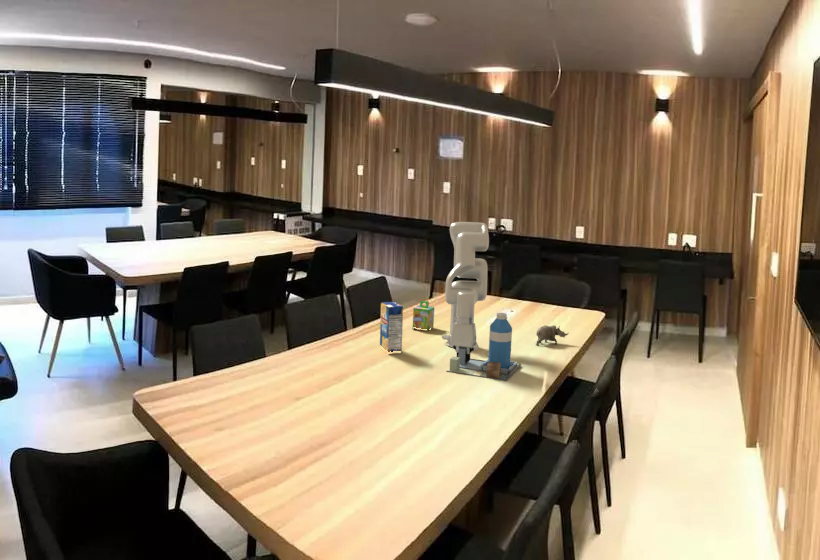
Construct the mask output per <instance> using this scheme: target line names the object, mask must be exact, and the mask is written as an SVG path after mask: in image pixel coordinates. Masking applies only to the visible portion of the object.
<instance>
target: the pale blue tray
mask: <svg viewBox="0 0 820 560" xmlns="http://www.w3.org/2000/svg"><path fill="white" fill-rule="evenodd" d="M466 354H467V347H460V348H459V351H458V357H460V367H464V368H470V369H477V370H484V371H487V364H488V358H487V359H486V360H484V361H485V362H483V361H476V360H470V361H469V362H468V363H466V362H465V360H466ZM517 365H518V362H517V361H512V360H510V368H509V369H504V368H500V373H503V374H509V373H510V372H511V371H512V370H513V369H514V368H515V367H516V366H517Z"/></svg>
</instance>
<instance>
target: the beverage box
mask: <svg viewBox="0 0 820 560" xmlns="http://www.w3.org/2000/svg"><path fill="white" fill-rule="evenodd" d="M403 313H404V306H403V305H401V304H399V303H398V302H397V301H383V302H380V324H379V325H380V328H379V330H380V331H379V334H380V335H379V337H380V338H379V346H380V345H381V346H382V347H383V348H384V349H385V350H387V351H388V352H390V351H391V352H393V351H402V350H403V315H404V314H403ZM402 352H403V351H402Z"/></svg>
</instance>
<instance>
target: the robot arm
mask: <svg viewBox="0 0 820 560" xmlns="http://www.w3.org/2000/svg"><path fill="white" fill-rule="evenodd" d="M488 228H489V227H488V225H487V223H484V222H480V221H479V222H476V221H475V222H474V221H455V222H452V223H451V224H450V226H449V234H450V239H451V242H452V244H453V249H454V250H453V251H454V252H453V254H454V255H453V268H452V269H451V270H450V272H449V273H448V275H447V277H446V280H445V293H444V294H445V295H444V296H445V297H444V298H445V302H446V303H447V304H448V305H450V329H449V334H448V335H447V334H442V336H441V339H442V340H444V341H445V340H446V343H445V345H446V346H447V345H448V347H449V346H450V348H453V349H454V350H455V352H456V357H458V351H459V348H460V347H467V354H466V360H465V362H466V363H468V362H469V361H470V359H471V353H472V352H473V351H476V350H478V349H479V348H480V347H479V344H478V341H477V328H476V322H475V305H476V303H477V302H483V301H485V300H486V298H487V295H488V294H487V293H488V263H487V260H485V258H480V257H479V258H476V252H486V251H487V250H489V247H490V245H489V244H490V236H489V229H488ZM456 277H457V278H459V279H460V278H461V279H462V278H463V279H465V278H466V279H476V280H456V281H454V279H455V278H456ZM474 322H475V323H474Z"/></svg>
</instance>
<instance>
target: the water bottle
mask: <svg viewBox="0 0 820 560" xmlns="http://www.w3.org/2000/svg"><path fill="white" fill-rule="evenodd" d="M507 316H508V315H507V313H505V312H497V313H496V318H495V319H494V320H493V322H492V323H491V324H490V325H489V339H488V358H487V359H488V362H498V363H501V366H500V368H504V369H509V368H510V367H511V366H510V361H511V356H512V355H511V354H512V353H511V352H512V339H513V337H512V336H513V327H512V325H511V324H510V322H509V321H508V317H507Z"/></svg>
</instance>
